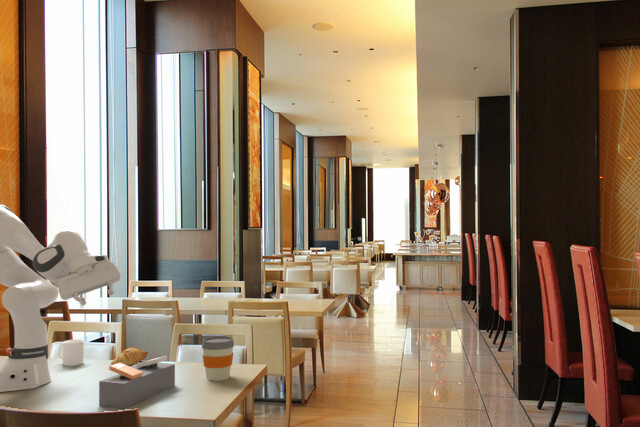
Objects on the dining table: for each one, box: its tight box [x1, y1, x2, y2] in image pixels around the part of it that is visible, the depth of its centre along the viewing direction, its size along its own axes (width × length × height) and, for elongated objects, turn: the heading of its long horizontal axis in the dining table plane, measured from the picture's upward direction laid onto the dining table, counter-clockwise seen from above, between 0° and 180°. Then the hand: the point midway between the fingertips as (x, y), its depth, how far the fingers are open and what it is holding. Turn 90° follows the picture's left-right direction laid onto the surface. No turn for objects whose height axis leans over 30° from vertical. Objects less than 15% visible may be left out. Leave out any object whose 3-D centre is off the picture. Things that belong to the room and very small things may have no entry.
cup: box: [58, 338, 85, 367], centre depth 236 cm, size 8×12×10 cm
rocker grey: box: [135, 355, 168, 368], centre depth 194 cm, size 10×5×2 cm, turn 71°
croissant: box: [110, 347, 148, 366], centre depth 237 cm, size 21×10×8 cm, turn 157°
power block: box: [98, 362, 176, 409], centre depth 188 cm, size 10×28×9 cm, turn 160°
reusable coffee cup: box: [201, 336, 235, 382], centre depth 210 cm, size 13×13×15 cm
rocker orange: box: [108, 363, 143, 380], centre depth 181 cm, size 10×5×2 cm, turn 70°
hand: (98, 299), depth 181 cm, fingers open, 8 cm apart
